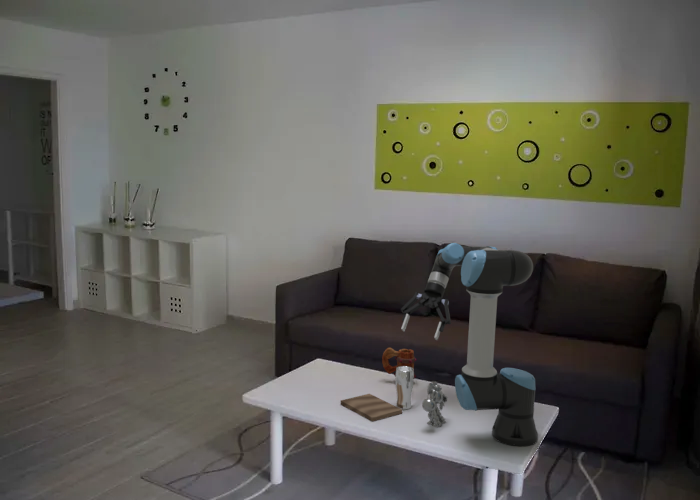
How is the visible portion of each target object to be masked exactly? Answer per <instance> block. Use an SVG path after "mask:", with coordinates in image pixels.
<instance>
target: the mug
mask: <svg viewBox="0 0 700 500" xmlns="http://www.w3.org/2000/svg"><path fill="white" fill-rule="evenodd" d="M393 357H395V360H396V363H397V364H396V365H394V366H393V365H391V363H390V361H389V359H391V358H393ZM381 359H382V360H381V362H382V367H383V368H384V370H385V372H386V373H387V374H389V375H391V374H393V376H394V377H396V368H397V367H400V366H408V367H412V368H413V369H414V367H415V362H416V361H417V358H416V357H415V353H414V350H413V349H407V348H401V349H399V350H398V351H397V350H395V349H394V348H392V347H387V348H386V349H385V350H384V351H383V353H382V358H381ZM414 371H415V369H414V370H413V372H414ZM416 378H417V375H416V374H415V372H414V379H416Z"/></svg>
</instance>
